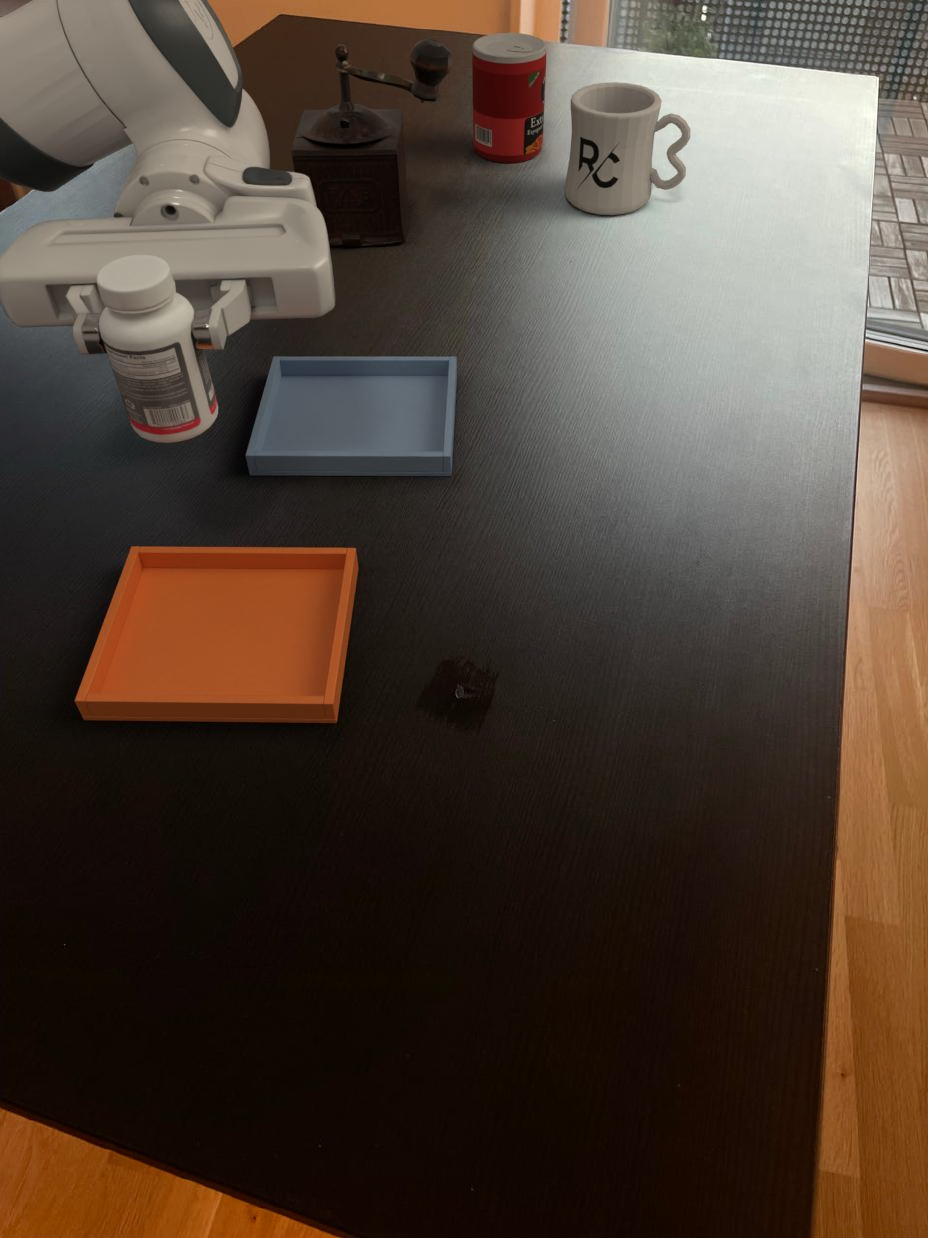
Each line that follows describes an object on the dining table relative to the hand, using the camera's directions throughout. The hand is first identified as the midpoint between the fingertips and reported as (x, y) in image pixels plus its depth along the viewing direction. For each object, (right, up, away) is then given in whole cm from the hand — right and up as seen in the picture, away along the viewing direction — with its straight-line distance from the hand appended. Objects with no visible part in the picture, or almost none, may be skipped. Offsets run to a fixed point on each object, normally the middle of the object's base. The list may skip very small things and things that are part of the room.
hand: (148, 341), depth 56 cm
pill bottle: (0, -4, +5) cm, 6 cm away
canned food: (+23, +38, +58) cm, 73 cm away
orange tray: (+3, -17, +7) cm, 19 cm away
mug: (+35, +28, +49) cm, 66 cm away
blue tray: (+9, 0, +23) cm, 25 cm away
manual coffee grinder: (+9, +25, +46) cm, 53 cm away
